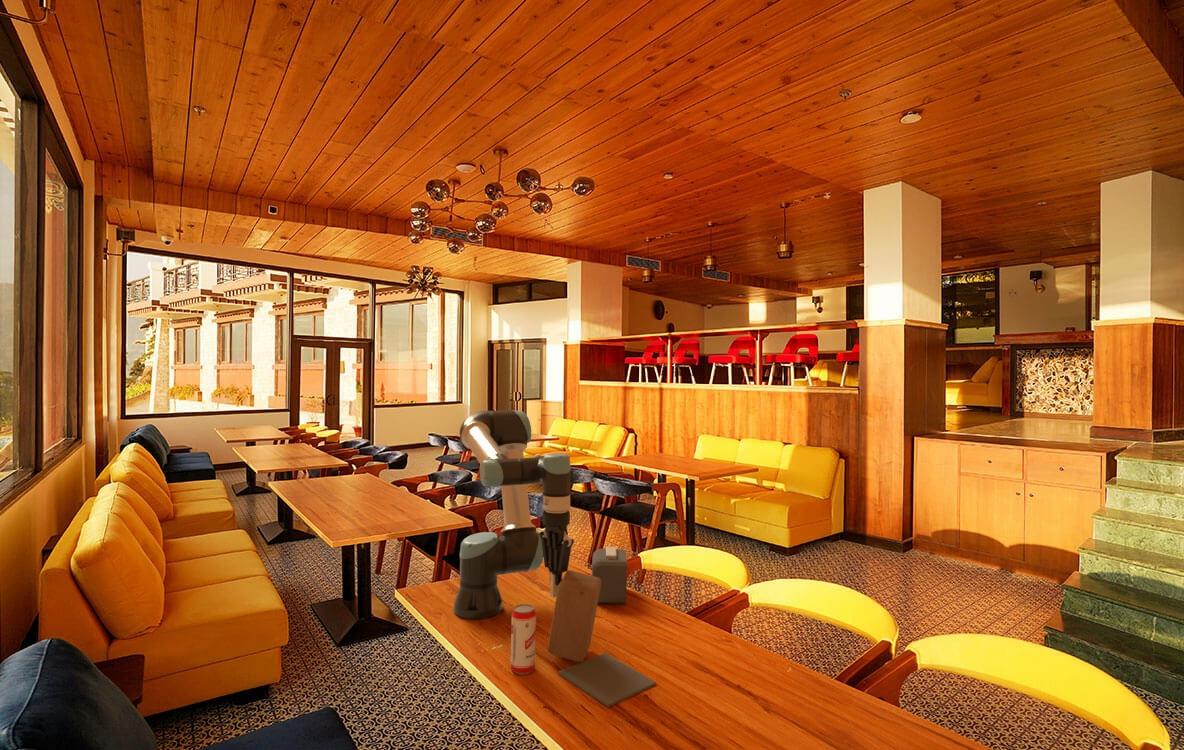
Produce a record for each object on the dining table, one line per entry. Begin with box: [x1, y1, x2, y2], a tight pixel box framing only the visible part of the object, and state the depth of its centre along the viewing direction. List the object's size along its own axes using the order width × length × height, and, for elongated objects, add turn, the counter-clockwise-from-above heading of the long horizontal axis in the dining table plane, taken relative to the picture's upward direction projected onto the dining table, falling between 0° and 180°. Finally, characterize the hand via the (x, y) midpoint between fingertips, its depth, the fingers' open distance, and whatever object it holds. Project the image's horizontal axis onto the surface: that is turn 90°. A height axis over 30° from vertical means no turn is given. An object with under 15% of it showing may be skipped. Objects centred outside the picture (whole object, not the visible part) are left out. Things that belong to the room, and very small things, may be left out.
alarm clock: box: [591, 546, 628, 605], centre depth 208 cm, size 16×11×16 cm
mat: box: [557, 652, 657, 708], centre depth 154 cm, size 19×16×1 cm
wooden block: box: [547, 569, 601, 663], centre depth 165 cm, size 10×10×20 cm
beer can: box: [510, 603, 537, 676], centre depth 158 cm, size 6×6×16 cm
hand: (555, 595), depth 170 cm, fingers closed
